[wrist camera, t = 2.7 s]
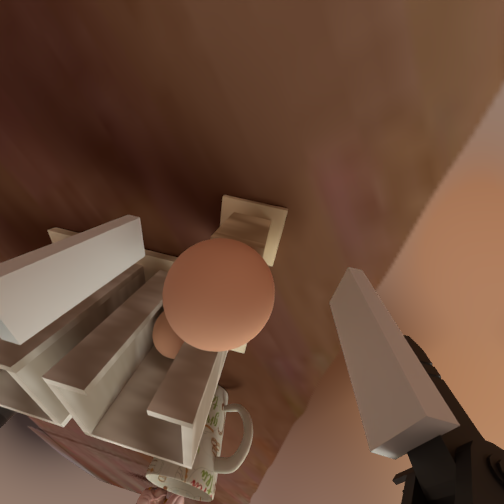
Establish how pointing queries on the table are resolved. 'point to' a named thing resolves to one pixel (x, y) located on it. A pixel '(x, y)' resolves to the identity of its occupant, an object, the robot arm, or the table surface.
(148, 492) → the figurine
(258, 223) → the stand
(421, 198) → the table surface
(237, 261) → the terracotta ball
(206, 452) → the mug
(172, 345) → the terracotta ball in tube
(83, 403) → the rack
